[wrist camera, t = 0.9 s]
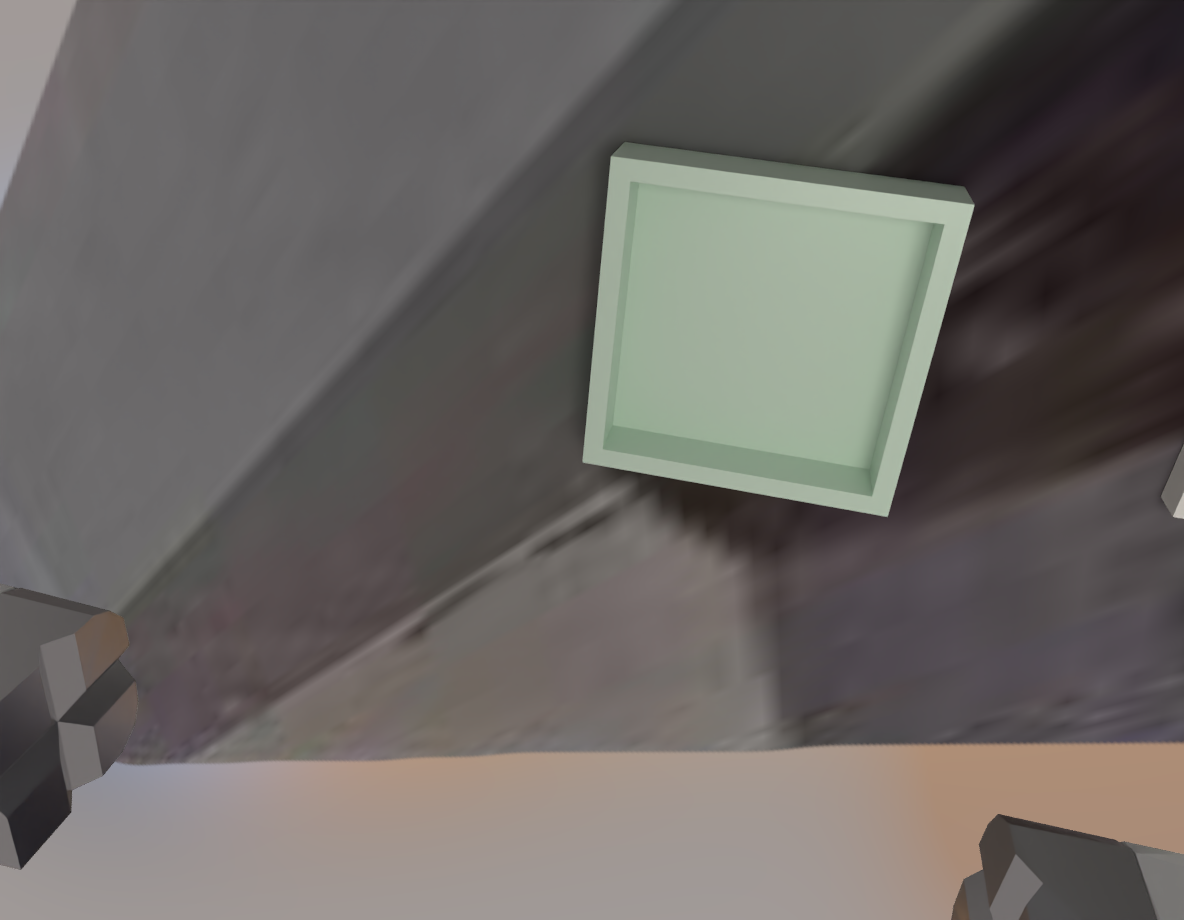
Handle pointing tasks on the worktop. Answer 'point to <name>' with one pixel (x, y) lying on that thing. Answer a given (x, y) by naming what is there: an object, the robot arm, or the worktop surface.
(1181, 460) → the holder
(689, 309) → the tray
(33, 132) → the worktop surface
